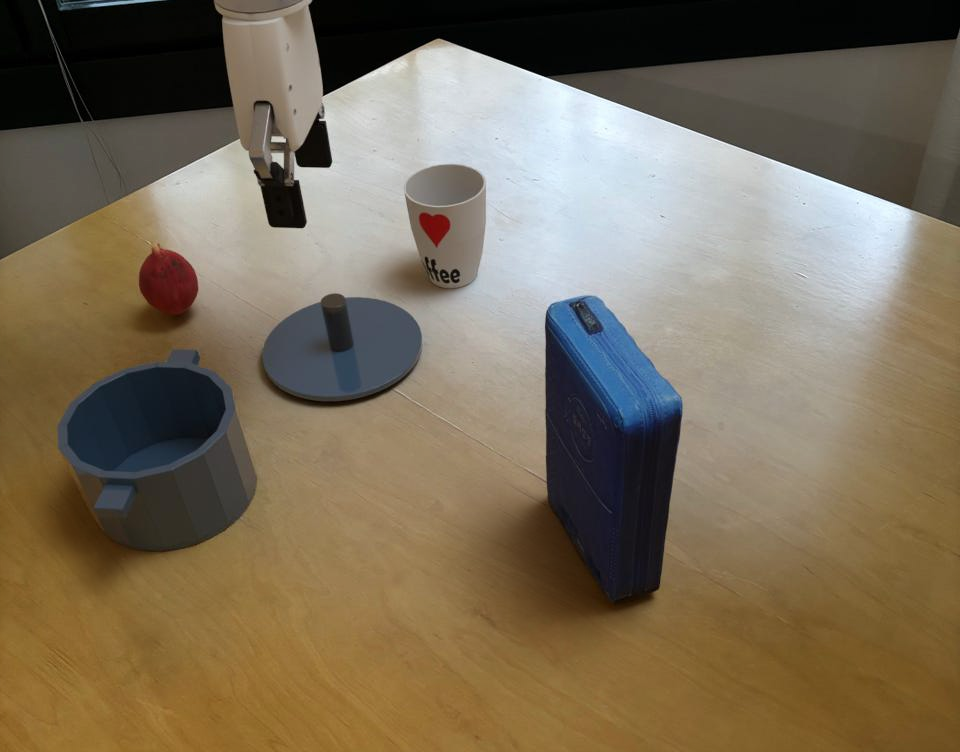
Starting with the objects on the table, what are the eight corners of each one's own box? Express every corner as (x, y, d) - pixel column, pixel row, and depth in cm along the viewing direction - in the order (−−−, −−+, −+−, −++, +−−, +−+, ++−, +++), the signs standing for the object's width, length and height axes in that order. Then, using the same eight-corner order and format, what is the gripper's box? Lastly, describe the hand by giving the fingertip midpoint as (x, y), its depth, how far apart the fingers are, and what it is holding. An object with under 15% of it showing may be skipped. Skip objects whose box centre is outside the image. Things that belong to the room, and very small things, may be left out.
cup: (400, 275, 114) (387, 186, 106) (457, 243, 117) (449, 154, 109) (449, 306, 110) (439, 216, 102) (507, 272, 113) (502, 182, 105)
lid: (246, 403, 103) (229, 350, 98) (286, 305, 112) (273, 251, 107) (408, 409, 100) (399, 354, 96) (434, 308, 110) (428, 254, 105)
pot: (57, 570, 91) (16, 497, 84) (135, 414, 103) (105, 340, 96) (222, 579, 89) (194, 506, 82) (282, 419, 101) (261, 344, 94)
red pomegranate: (218, 307, 113) (197, 238, 106) (179, 336, 110) (156, 267, 104) (178, 291, 115) (155, 222, 109) (140, 320, 112) (114, 251, 106)
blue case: (536, 499, 92) (528, 297, 76) (593, 481, 93) (597, 277, 77) (608, 618, 83) (617, 418, 68) (670, 596, 84) (692, 394, 69)
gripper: (243, -66, 86) (284, 144, 99) (177, 29, 75) (233, 250, 89) (335, -67, 85) (364, 145, 98) (280, 30, 74) (321, 253, 88)
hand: (302, 195), depth 93 cm, fingers open, 9 cm apart
